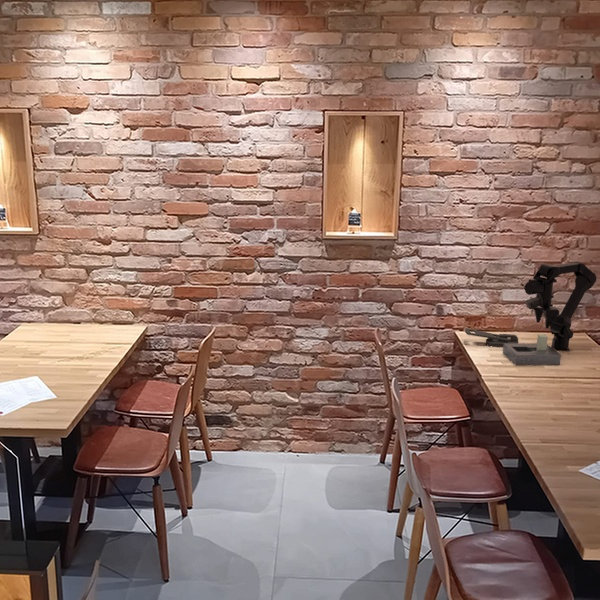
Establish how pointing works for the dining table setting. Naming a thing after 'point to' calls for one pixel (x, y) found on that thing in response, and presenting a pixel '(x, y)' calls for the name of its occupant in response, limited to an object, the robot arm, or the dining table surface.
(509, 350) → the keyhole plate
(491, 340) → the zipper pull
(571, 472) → the dining table surface
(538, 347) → the headed peg
